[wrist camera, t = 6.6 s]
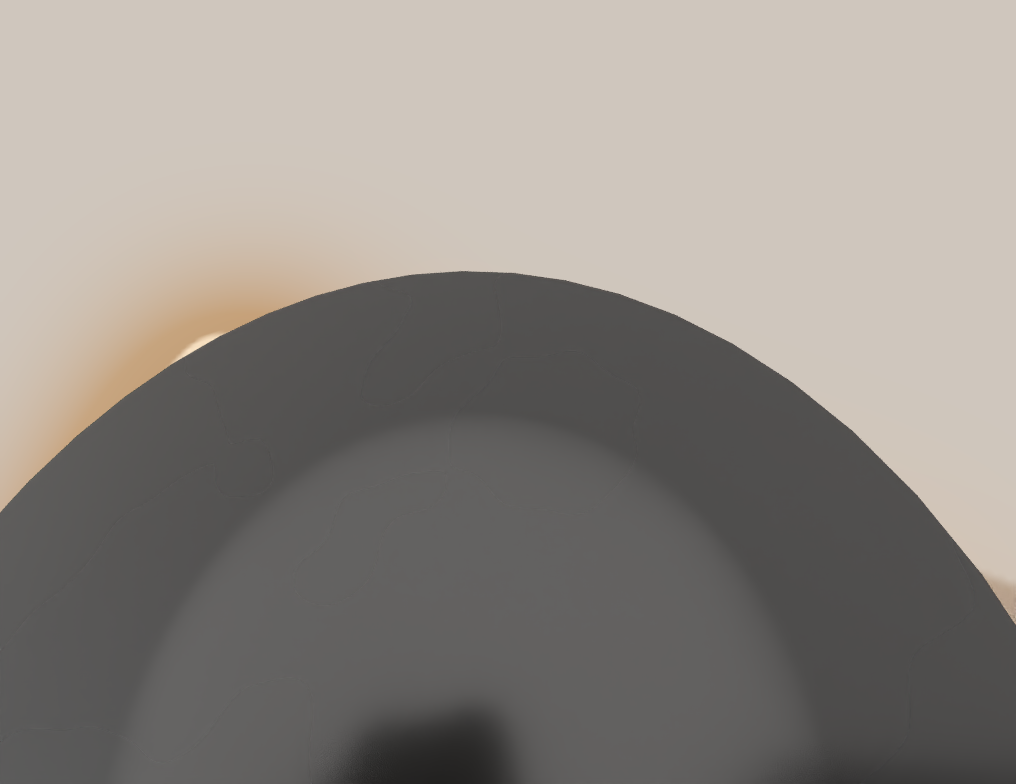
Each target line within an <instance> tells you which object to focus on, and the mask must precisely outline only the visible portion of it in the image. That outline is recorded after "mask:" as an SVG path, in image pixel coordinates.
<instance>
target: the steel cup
mask: <svg viewBox="0 0 1016 784" xmlns="http://www.w3.org/2000/svg"><path fill="white" fill-rule="evenodd" d="M0 784H1016V625H1015V624H1014V622H1013V621H1012V619H1011V618H1010V616H1009V615H1008V613H1007V612H1006V610H1005V609H1004V607H1003V606H1002V604H1001V603H1000V601H999V600H998V598H997V596H996V595H995V593H994V592H993V590H992V589H991V587H990V586H989V584H988V583H987V581H986V580H985V578H984V577H983V575H982V574H981V573H980V572H979V570H978V569H977V568H976V567H975V566H974V564H973V563H972V562H971V561H970V559H969V558H968V557H967V556H966V555H965V553H964V552H963V551H962V550H961V548H960V547H959V546H958V545H957V544H956V542H955V541H954V540H953V539H952V537H951V536H950V535H949V534H948V533H947V531H946V530H945V529H944V528H943V526H942V525H941V524H940V523H939V522H938V520H937V519H936V518H935V517H934V515H933V514H932V513H931V512H930V511H929V509H928V508H927V507H926V506H925V504H924V503H923V502H922V501H921V500H920V498H919V497H918V496H917V495H916V494H915V493H914V492H913V491H912V490H911V489H910V488H909V487H908V486H907V485H906V484H905V483H904V482H903V481H902V480H901V479H900V478H899V477H898V476H897V475H896V474H895V473H894V472H893V471H892V470H891V469H890V468H889V467H888V466H887V465H886V464H885V463H884V462H883V461H882V460H881V459H880V458H879V457H878V456H877V455H876V454H875V453H874V452H873V451H872V450H871V449H870V448H869V447H868V446H867V445H866V444H865V443H864V442H863V441H862V440H861V439H860V438H859V437H858V436H857V435H856V434H855V433H854V432H853V431H852V430H851V429H849V428H848V427H847V426H846V425H844V424H843V423H842V422H841V421H839V420H838V419H837V418H836V417H834V416H833V415H832V414H831V413H829V412H828V411H827V410H826V409H825V408H823V407H822V406H821V405H819V404H818V403H817V402H816V401H814V400H813V399H812V398H811V397H810V396H808V395H807V394H806V393H805V392H803V391H802V390H801V389H800V388H798V387H797V386H796V385H795V384H794V383H792V382H790V381H789V380H788V379H786V378H784V377H783V376H782V375H780V374H779V373H777V372H775V371H773V370H772V369H771V368H769V367H768V366H766V365H765V364H763V363H761V362H760V361H758V360H757V359H755V358H754V357H752V356H751V355H749V354H747V353H746V352H744V351H743V350H741V349H740V348H738V347H737V346H735V345H734V344H732V343H730V342H728V341H726V340H724V339H722V338H720V337H718V336H716V335H714V334H712V333H710V332H708V331H706V330H704V329H702V328H700V327H698V326H696V325H694V324H692V323H690V322H688V321H686V320H684V319H682V318H680V317H678V316H676V315H674V314H671V313H668V312H666V311H663V310H661V309H658V308H655V307H653V306H650V305H647V304H644V303H642V302H639V301H636V300H633V299H631V298H628V297H626V296H623V295H620V294H617V293H613V292H609V291H605V290H601V289H597V288H593V287H589V286H585V285H581V284H577V283H573V282H569V281H566V280H559V279H551V278H544V277H537V276H530V275H523V274H516V273H497V272H468V271H461V272H460V271H459V272H445V273H430V274H416V275H408V276H402V277H396V278H390V279H384V280H379V281H372V282H367V283H362V284H358V285H354V286H351V287H347V288H343V289H340V290H336V291H332V292H328V293H325V294H321V295H317V296H314V297H311V298H309V299H306V300H303V301H300V302H298V303H295V304H293V305H290V306H287V307H285V308H282V309H279V310H276V311H274V312H271V313H268V314H266V315H264V316H262V317H260V318H258V319H255V320H253V321H251V322H249V323H247V324H245V325H243V326H241V327H238V328H236V329H234V330H232V331H230V332H228V333H226V334H224V335H222V336H220V337H218V338H216V339H214V340H213V341H211V342H209V343H208V344H206V345H204V346H202V347H201V348H199V349H197V350H195V351H194V352H192V353H190V354H189V355H187V356H185V357H183V358H182V359H180V360H178V361H177V362H175V363H173V364H172V365H170V366H169V367H167V368H166V369H164V370H163V371H161V372H160V373H159V374H157V375H156V376H155V377H153V378H151V379H150V380H149V381H147V382H146V383H144V384H143V385H141V386H140V387H138V388H137V389H136V390H134V391H133V392H131V393H130V394H128V395H127V396H125V397H124V398H123V399H122V400H120V401H119V402H118V403H117V404H116V405H114V406H113V407H112V408H111V409H109V410H108V411H107V412H106V413H105V414H103V415H102V416H101V417H100V418H99V419H97V420H96V421H95V422H93V423H92V424H91V425H90V426H89V427H88V428H86V429H85V430H84V431H82V432H81V433H80V434H79V435H77V436H76V437H75V438H74V439H73V440H72V441H71V442H70V443H69V444H68V445H67V446H66V447H65V448H64V449H63V450H61V451H60V453H58V454H57V455H56V456H55V457H54V458H53V459H52V460H51V461H50V462H49V463H48V464H47V465H46V466H45V467H44V468H42V469H41V470H40V471H39V472H38V473H37V474H36V475H35V476H34V477H33V478H32V479H31V480H30V481H29V482H28V483H27V484H26V485H25V486H24V487H23V488H22V489H21V490H20V492H19V493H18V494H17V495H16V496H15V497H14V498H13V499H12V500H11V501H10V502H9V503H8V505H7V506H6V507H5V508H4V509H3V510H2V511H1V512H0Z"/></svg>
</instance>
